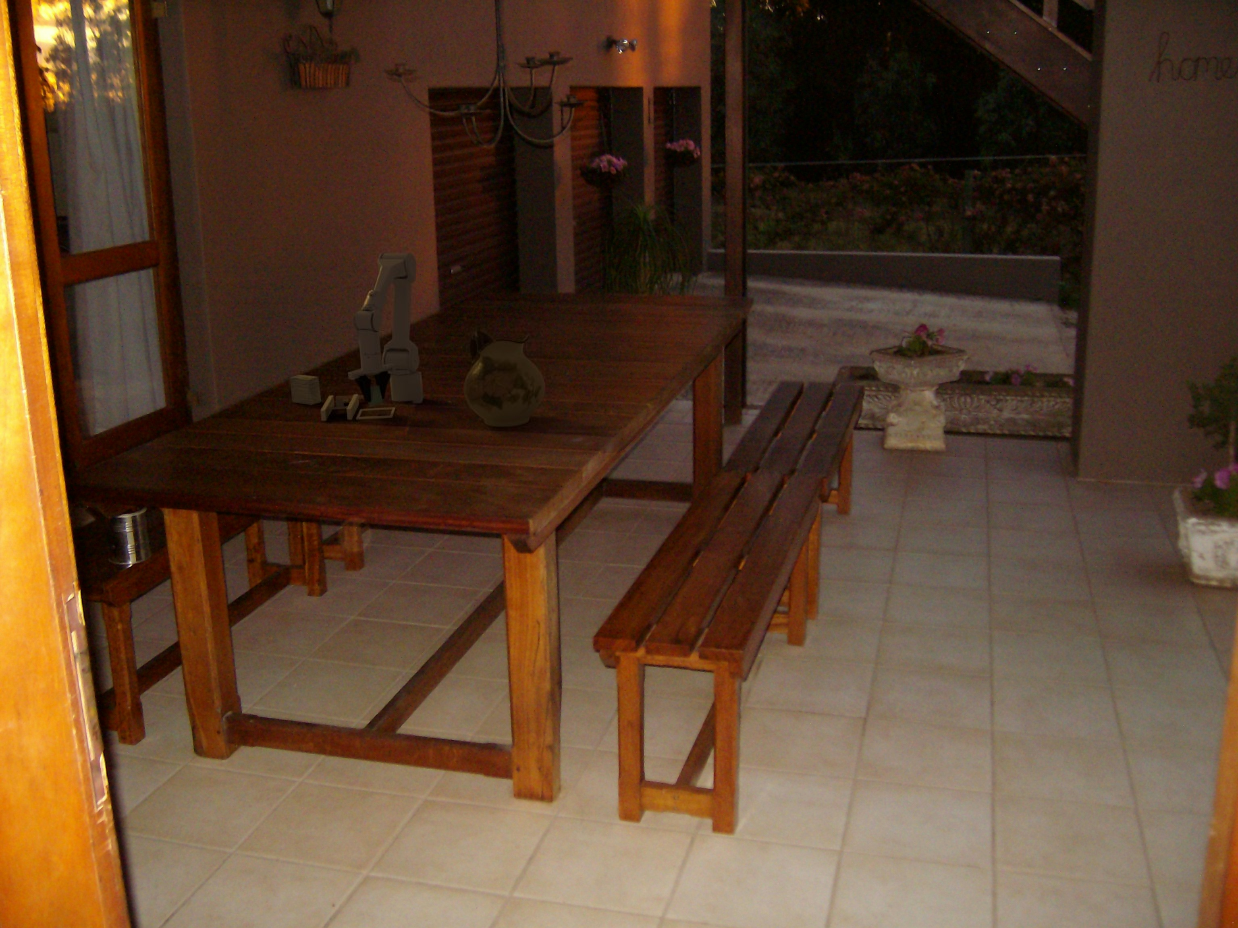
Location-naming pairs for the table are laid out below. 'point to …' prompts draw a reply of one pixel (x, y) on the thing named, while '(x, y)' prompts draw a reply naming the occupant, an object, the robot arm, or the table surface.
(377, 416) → the tray
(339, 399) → the lever
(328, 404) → the beige h-shaped piece
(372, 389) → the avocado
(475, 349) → the pitcher
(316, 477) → the table surface
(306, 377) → the medicine box
